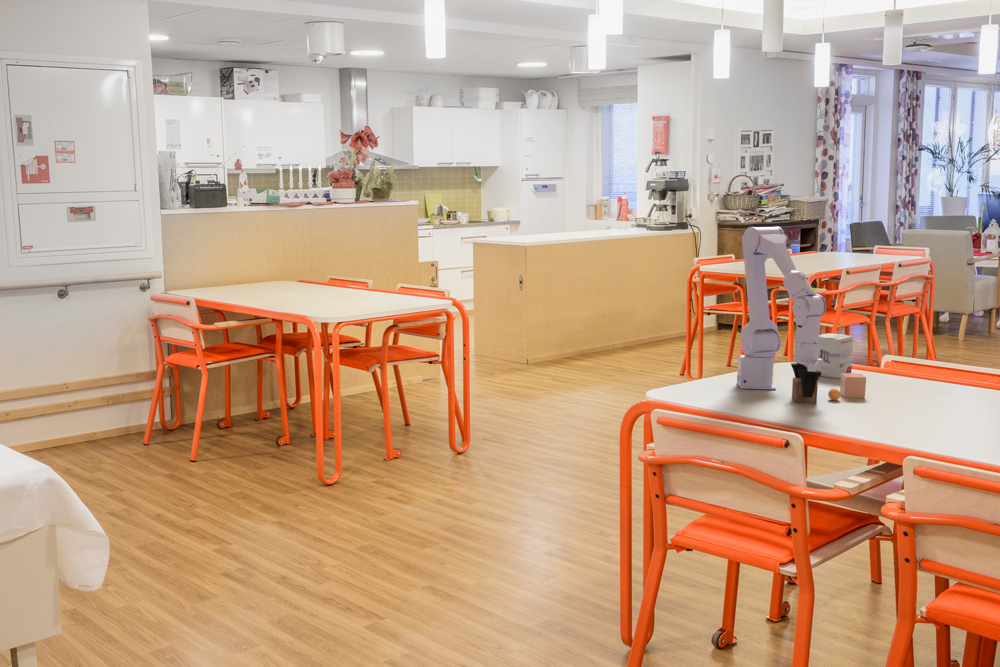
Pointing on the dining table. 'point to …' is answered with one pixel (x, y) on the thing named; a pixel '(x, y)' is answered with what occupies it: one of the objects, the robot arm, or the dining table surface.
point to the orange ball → (834, 394)
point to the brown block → (798, 394)
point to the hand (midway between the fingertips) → (804, 393)
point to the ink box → (835, 354)
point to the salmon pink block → (852, 385)
